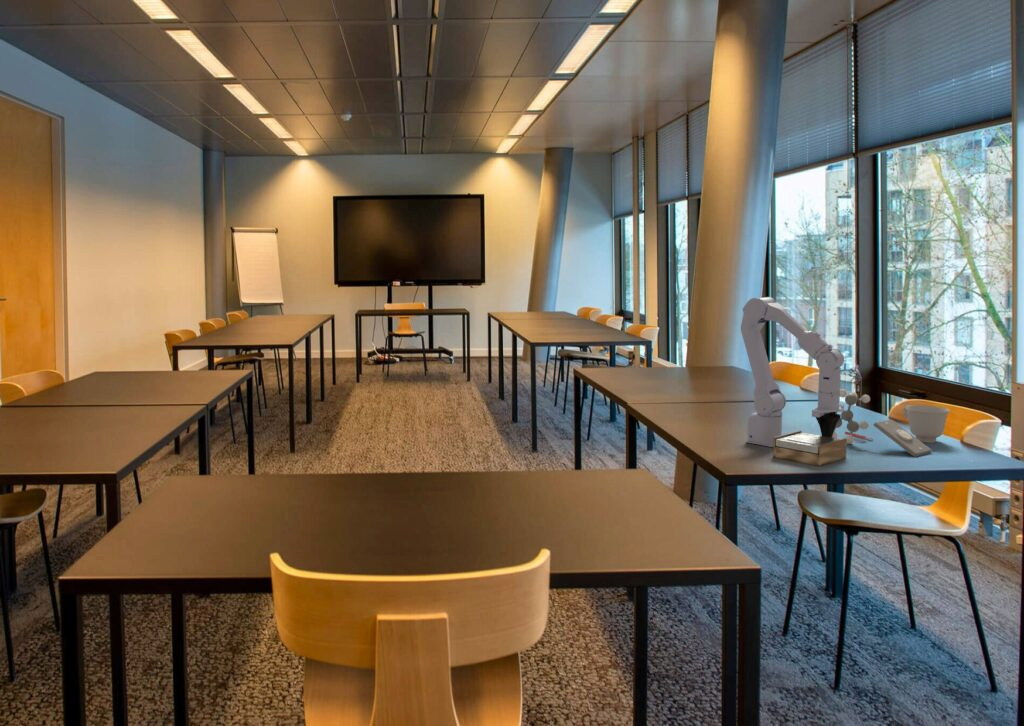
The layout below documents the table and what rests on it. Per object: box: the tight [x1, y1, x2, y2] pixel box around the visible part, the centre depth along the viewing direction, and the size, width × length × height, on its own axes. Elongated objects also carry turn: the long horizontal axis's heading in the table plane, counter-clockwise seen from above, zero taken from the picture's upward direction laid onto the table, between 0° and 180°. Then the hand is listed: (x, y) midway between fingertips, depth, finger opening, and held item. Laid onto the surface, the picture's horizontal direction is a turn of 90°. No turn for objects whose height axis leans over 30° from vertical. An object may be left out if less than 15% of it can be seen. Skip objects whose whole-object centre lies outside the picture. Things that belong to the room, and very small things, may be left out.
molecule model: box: [832, 388, 874, 445], centre depth 240 cm, size 20×16×16 cm
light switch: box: [873, 419, 933, 457], centre depth 226 cm, size 8×6×14 cm
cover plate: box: [776, 432, 841, 454], centre depth 217 cm, size 12×14×2 cm
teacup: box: [902, 404, 951, 444], centre depth 239 cm, size 12×15×10 cm
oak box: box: [772, 430, 847, 467], centre depth 217 cm, size 14×14×6 cm
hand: (826, 438), depth 223 cm, fingers closed
